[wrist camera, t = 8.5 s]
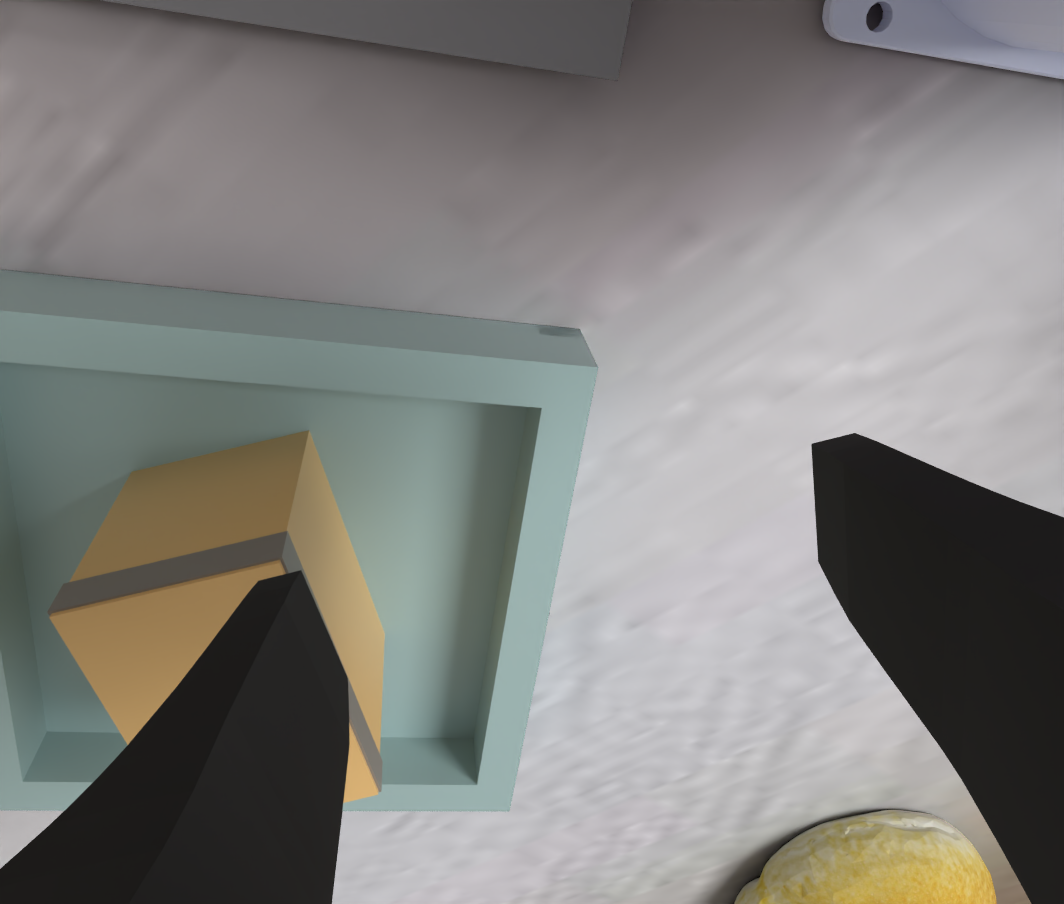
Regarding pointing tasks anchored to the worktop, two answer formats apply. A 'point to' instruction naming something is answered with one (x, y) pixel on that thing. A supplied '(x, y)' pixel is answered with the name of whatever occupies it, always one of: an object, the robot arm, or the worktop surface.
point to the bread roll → (875, 864)
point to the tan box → (219, 582)
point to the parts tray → (354, 477)
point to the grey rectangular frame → (449, 27)
